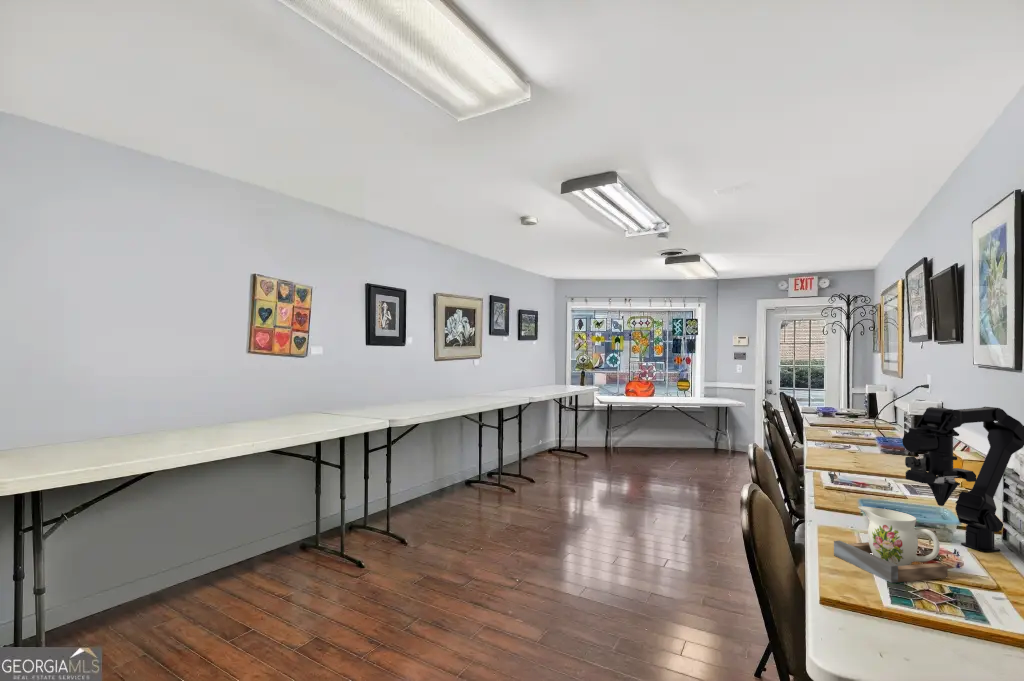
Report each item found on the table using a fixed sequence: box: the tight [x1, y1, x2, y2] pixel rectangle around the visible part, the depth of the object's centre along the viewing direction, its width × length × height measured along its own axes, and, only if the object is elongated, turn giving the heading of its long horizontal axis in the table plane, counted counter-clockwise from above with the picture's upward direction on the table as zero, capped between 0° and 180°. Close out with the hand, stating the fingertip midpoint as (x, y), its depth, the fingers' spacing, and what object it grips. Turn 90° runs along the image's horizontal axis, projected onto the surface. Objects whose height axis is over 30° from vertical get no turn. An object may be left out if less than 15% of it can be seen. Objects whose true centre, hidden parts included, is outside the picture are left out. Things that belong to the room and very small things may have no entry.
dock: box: [833, 540, 949, 583], centre depth 142 cm, size 17×18×4 cm
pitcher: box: [857, 505, 941, 566], centre depth 143 cm, size 11×18×14 cm, turn 44°
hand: (940, 505), depth 155 cm, fingers closed
